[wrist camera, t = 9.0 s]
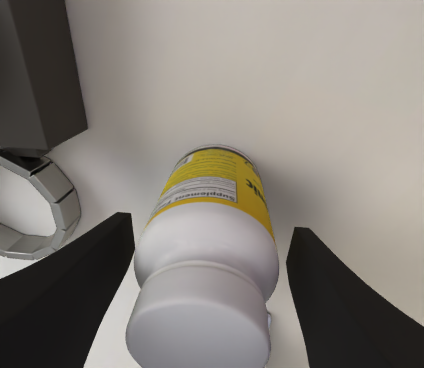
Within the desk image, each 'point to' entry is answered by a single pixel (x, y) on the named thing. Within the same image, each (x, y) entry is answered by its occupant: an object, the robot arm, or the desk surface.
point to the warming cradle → (52, 191)
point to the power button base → (37, 76)
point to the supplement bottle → (205, 268)
